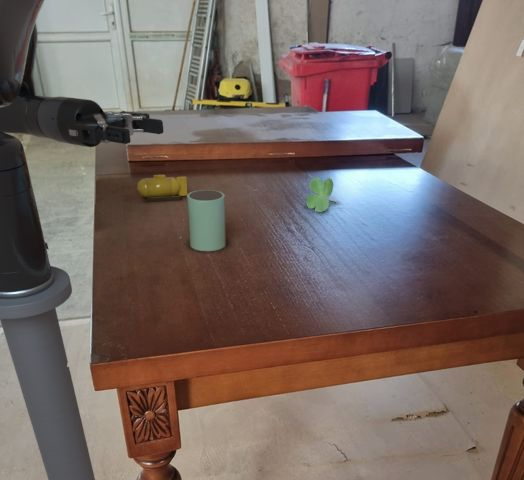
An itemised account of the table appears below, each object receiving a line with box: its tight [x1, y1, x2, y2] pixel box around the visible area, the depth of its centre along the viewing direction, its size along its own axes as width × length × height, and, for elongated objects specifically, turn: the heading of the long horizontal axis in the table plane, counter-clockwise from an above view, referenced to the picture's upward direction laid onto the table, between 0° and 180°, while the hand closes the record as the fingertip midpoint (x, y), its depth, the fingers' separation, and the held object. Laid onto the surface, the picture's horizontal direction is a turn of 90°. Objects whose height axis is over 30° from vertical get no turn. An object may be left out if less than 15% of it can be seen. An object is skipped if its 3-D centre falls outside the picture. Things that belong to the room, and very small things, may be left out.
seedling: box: [305, 176, 337, 213], centre depth 108 cm, size 7×8×6 cm
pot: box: [186, 189, 227, 252], centre depth 88 cm, size 6×6×8 cm
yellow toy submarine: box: [136, 174, 188, 202], centre depth 110 cm, size 10×4×5 cm, turn 102°
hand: (145, 131), depth 85 cm, fingers open, 8 cm apart
